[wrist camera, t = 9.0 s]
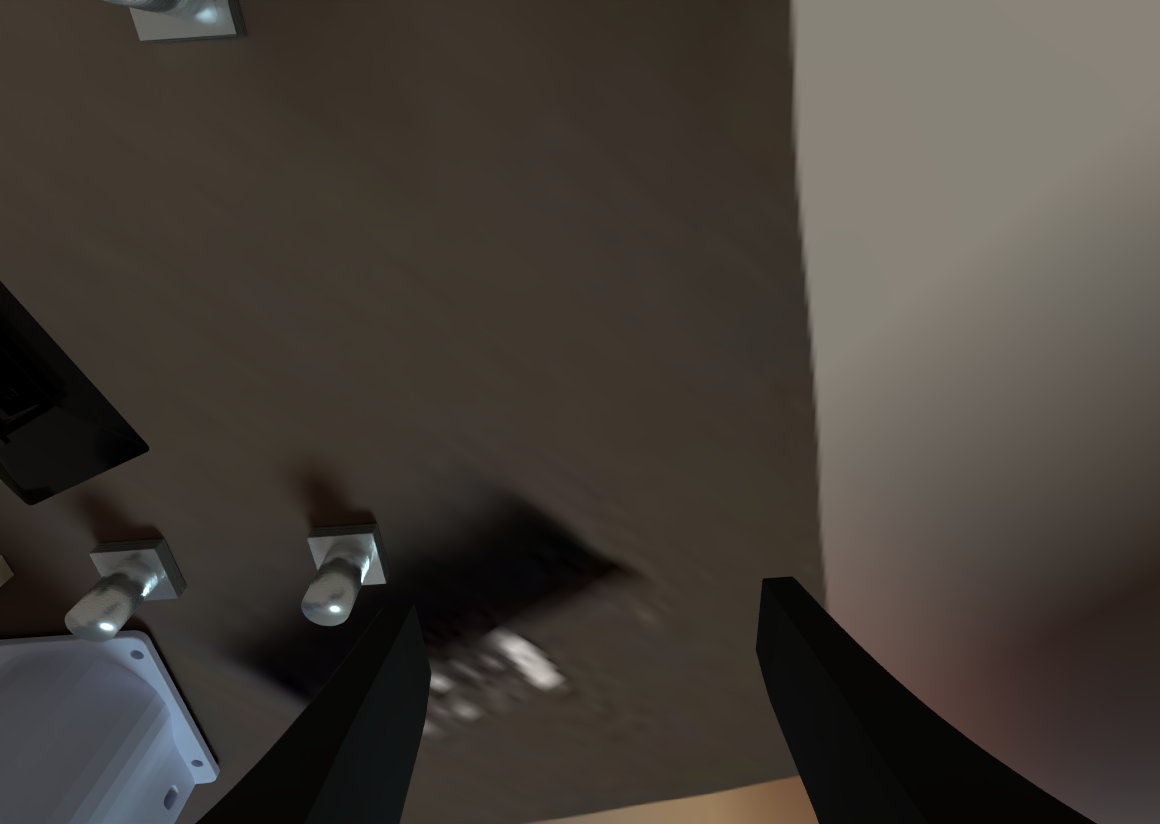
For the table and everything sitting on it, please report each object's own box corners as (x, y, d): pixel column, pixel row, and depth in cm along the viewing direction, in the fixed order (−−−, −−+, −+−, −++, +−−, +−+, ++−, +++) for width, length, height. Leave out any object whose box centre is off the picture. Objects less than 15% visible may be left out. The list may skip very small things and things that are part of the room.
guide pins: (389, 572, 24) (368, 631, 21) (125, 591, 24) (70, 653, 21) (216, -81, 15) (139, -124, 12) (-216, -51, 15) (-391, -86, 12)
